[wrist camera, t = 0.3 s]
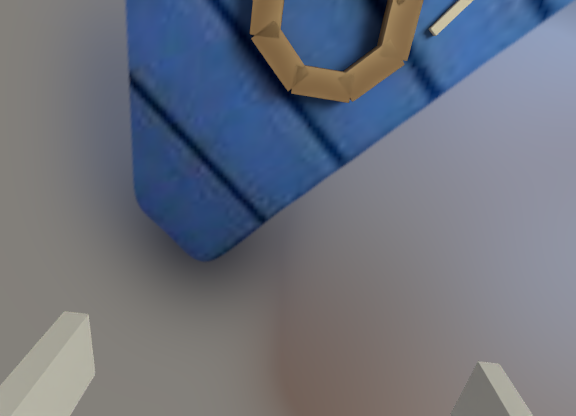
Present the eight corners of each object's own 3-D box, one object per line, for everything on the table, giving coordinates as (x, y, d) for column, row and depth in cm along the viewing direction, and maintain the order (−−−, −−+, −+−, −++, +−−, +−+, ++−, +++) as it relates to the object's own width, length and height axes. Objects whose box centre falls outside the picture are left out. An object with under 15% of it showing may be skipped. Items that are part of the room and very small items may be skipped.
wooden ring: (265, -99, 28) (263, -109, 26) (433, -67, 29) (443, -75, 27) (247, 84, 34) (244, 86, 32) (388, 106, 35) (393, 110, 33)
